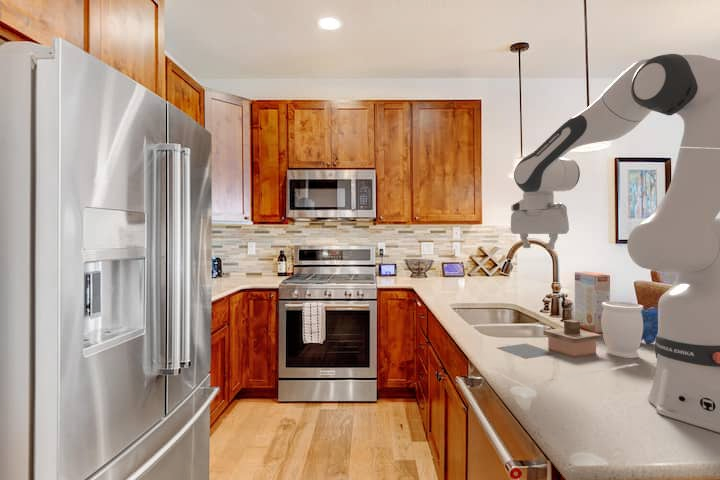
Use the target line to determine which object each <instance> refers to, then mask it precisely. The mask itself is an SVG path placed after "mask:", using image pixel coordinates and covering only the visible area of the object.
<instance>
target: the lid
mask: <svg viewBox="0 0 720 480" xmlns="http://www.w3.org/2000/svg"><path fill="white" fill-rule="evenodd" d="M543 335H545V336H551V337H555V338H558V339H562V340H565V341H569V342H572V343H579V342H586V341H592V340H596V341H597V340H598V341H599V340H602V338H603V334H601V333H593V332H591V331H589V330H585V329H584V330H583V329H581V327H580V321H576V320H574V319H564V321H563V327H559V328H552V329H545V330H543Z"/></svg>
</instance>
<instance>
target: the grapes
mask: <svg viewBox="0 0 720 480" xmlns="http://www.w3.org/2000/svg"><path fill="white" fill-rule="evenodd" d="M641 314H642V318H643V334H642V338H641V342H642V341H644V342H645V343H646V344H649V345H651V344H653V343H655V339H656V335H657V334H658V307H654V306H652V307H649V308H648V309H647V310H646V309H645V308H643V310H642V311H641Z"/></svg>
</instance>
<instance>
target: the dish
mask: <svg viewBox="0 0 720 480" xmlns="http://www.w3.org/2000/svg"><path fill="white" fill-rule="evenodd" d="M547 336H548V335H547ZM547 346H548V347H547V349H548V351H551V352H555V353H556V352H557V353H559V354H562V355H565V356H567V357H572V358H579V357H583V356H589V355H590V356H591V355H596V354H597V340H592V341H586V342H579V343H572V342H569V341H565V340H562V339H558V338H555V337H551V336H548V345H547Z"/></svg>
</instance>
